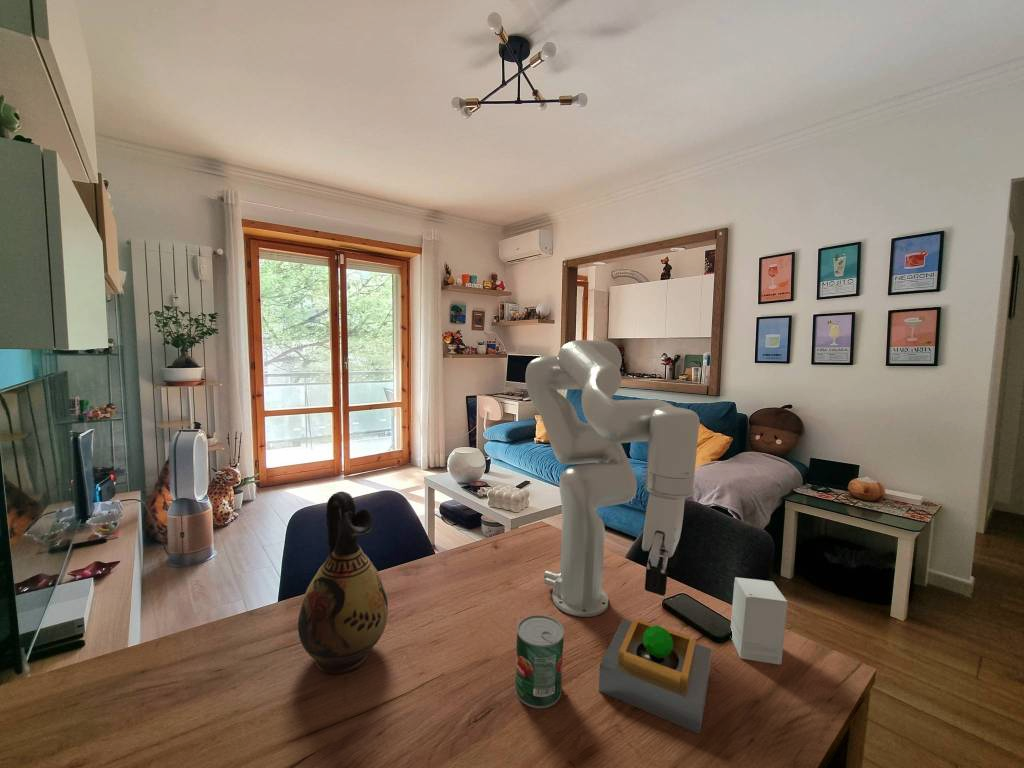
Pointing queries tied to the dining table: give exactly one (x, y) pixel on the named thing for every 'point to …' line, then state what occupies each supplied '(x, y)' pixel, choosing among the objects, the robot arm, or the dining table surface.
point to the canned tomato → (539, 661)
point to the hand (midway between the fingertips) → (660, 578)
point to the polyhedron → (658, 641)
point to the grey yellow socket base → (657, 675)
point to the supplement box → (758, 620)
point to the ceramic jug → (343, 595)
